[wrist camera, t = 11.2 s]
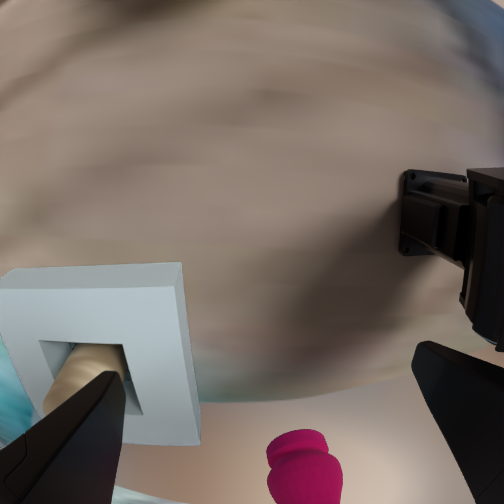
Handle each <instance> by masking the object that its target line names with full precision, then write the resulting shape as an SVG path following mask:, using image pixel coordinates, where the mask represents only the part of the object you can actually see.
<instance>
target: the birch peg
mask: <svg viewBox="0 0 504 504" xmlns="http://www.w3.org/2000/svg"><path fill="white" fill-rule="evenodd" d="M105 370H112V371H117V372H119V374H120V377H121V380H122V383H123V382H124V379H125V376H126V373H127V370H128V363H127V360H126V356H125V352H124V348H123V344H102V343H78V342H77V343H76V345H75V347H74V348H73V350H72V352H71V353H70V355H69V357H68V358H67V360H66V362H65V363H64V365H63V367H62V368H61V370H60V372H59V374H58V375H57V377H56V379H55V381H54V382H53V384H52V386H51V388H50V390H49V391H48V393H47V395H46V397H45V399H44V401H43V411H44V413H45V415H48V414H49V413H50V412H52V411H53V410H54V409H55V408H57V407H58V406H59V405H61V404H62V403H63V402H64V401H66V400H67V399H68V398H69V397H71V396H72V395H73V394H75V393H76V392H77V391H78V390H80V389H81V388H82V387H84V386H85V385H86V384H87V383H89V382H90V381H91V380H92V379H94V378H95V377H96V376H98V375H99V374H100V373H101V372H103V371H105Z"/></svg>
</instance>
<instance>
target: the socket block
mask: <svg viewBox="0 0 504 504" xmlns="http://www.w3.org/2000/svg"><path fill="white" fill-rule="evenodd" d="M0 334H1V336H2V339H3V342H4V344H5V347H6V349H7V351H8V354H9V356H10V359H11V361H12V363H13V365H14V368H15V370H16V372H17V374H18V376H19V379H20V381H21V383H22V385H23V387H24V389H25V391H26V393H27V395H28V397H29V399H30V400H31V402H32V404H33V406H34V408H35V410H36V411H37V413H38V415H39V417H40V418H41V419H43V418H44V417H45V416H46V415H45V413H44V411H43V401H44V399H45V397H46V395H47V393H48V391H49V390H50V388H51V386H52V384H53V382H54V381H55V379H56V377H57V375H58V374H59V372H60V370H61V368H62V367H63V365H64V363H65V362H66V360H67V358H68V357H69V355H70V353H71V352H72V350H71V347H70V344H69V342H78V343H102V344H123V348H124V352H125V356H126V360H127V363H128V367H129V370H130V374H131V377H132V381H124V382H123V386H124V389H125V392H126V406H125V415H124V426H123V438H122V443H130V444H131V443H132V444H145V445H168V446H200V445H201V443H200V442H201V410H200V404H199V398H198V392H197V386H196V379H195V373H194V366H193V359H192V352H191V345H190V337H189V329H188V321H187V313H186V304H185V295H184V285H183V275H182V264H181V262H165V263H142V264H118V265H94V266H68V267H42V268H14V269H12V270H11V271H9V272H8V273H6V274H5V275H4V276H2V277H1V278H0Z"/></svg>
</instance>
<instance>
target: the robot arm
mask: <svg viewBox="0 0 504 504" xmlns="http://www.w3.org/2000/svg"><path fill="white" fill-rule="evenodd" d="M411 174H413V177H412V179H411V177H410V175H411ZM467 178H468V181H469V183H467ZM467 178H466V177H465V176H463V175H457V174H449V173H441V172H433V171H424V170H414V169H408V170H407V171H406V172H405V180H404V197H403V202H402V215H401V226H400V231H401V233H400V242H399V253H400V254H402V255H403V256H417V255H432V254H436V255H438V256H440V257H442V258H444V259H446V260H447V261H449V262H451V263H453V264H455V265H456V266H458V267H460V268H462V269H464V278H463V286H462V292H460V297H459V301H460V303H461V304H462V306H463V307H464V309H465V313H466V315H467V316H468V318H469V319H470V321H471V322H472V323H473V325H472V329H473V330H474V331H475V333H477V334H478V335H480V336H481V337H482V338H484V339H485V340H486V341H488V342H490V343H491V344H493V345H496V347H495V350H496V351H497V352H504V168H475V169H467ZM461 180H462V182H461ZM405 247H406V250H405V251H404V248H405ZM411 367H412V371H413V373H414V376H415V378H416V380H417V382H418V385H419V387H420V390H421V392H422V394H423V396H424V399H425V401H426V403H427V406H428V407H429V409H430V411H431V413H432V415H433V417H434V419H435V421H436V423H437V424H438V426H439V428H440V430H441V432H442V434H443V436H444V438H445V440H446V442H447V444H448V446H449V447H450V450H451V451H452V453H453V455H454V457H455V460H456V461H457V463H458V466H459V468H460V470H461V472H462V474H463V476H464V478H465V480H466V482H467V484H468V487H469V488H470V491H471V493H472V495H473V498H474V499H475V503H476V504H504V368H502V367H500V366H497V365H494V364H491V363H489V362H486V361H483V360H481V359H478V358H475V357H472V356H470V355H467V354H464V353H462V352H459V351H456V350H454V349H451V348H448V347H446V346H443V345H440V344H438V343H435V342H432V341H424V342H420V343H418V345H417V347H416V350H415V353H414V357H413V360H412V364H411ZM125 406H126V392H125V389H124V386H123V383H122V380H121V377H120V374H119V372H117V371H112V370H105V371H103V372H101V373H100V374H99V375H98V376H96V377H95V378H94V379H92V380H91V381H90V382H89V383H87V384H86V385H85V386H84V387H82V388H81V389H80V390H78V391H77V392H76V393H75V394H73V395H72V396H71V397H69V398H68V399H67V400H66V401H64V402H63V403H62V404H61V405H59V406H58V407H57V408H55V409H54V410H53V411H52V412H50V413H49V414H48V415H46V416H45V417H44V418H43V419H41V420H40V421H39V422H38V423H36V424H35V425H34V426H32V427H31V428H30V429H29V430H27V431H26V432H25V434H24V433H23V434H22V435H21V436H19V437H18V438H17V439H16V440H14V441H13V442H12V443H10V444H9V445H7V446H6V447H5V448H3V449H2V450H0V504H111V501H112V495H113V489H114V483H115V478H116V472H117V467H118V461H119V456H120V451H121V446H122V438H123V426H124V415H125Z"/></svg>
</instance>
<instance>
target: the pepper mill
mask: <svg viewBox="0 0 504 504" xmlns="http://www.w3.org/2000/svg"><path fill="white" fill-rule="evenodd" d="M328 451H329V449H328V446H327V443H326V441H325V438H324V436H323V435H322V434H321V433H320V432H318V431H315V430H311V429H301V430H294V431H290V432H287V433H284V434H282V435H280V436H279V437H277V438H275V439H274V440H273V441H272V442H271V443H270V444H269V446H268V447H267V450H266V453H267V459H268V464H269V466H270V468H272V469H271V471H270V473H269V475H268V478H267V485H268V488H269V491H270V494H271V495H272V497H273V498H274V501H275V502H276V503H277V504H340V498H341V491H342V485H343V474H342V469H341V466H340V463H339V461H338V460H337V459H336V458H335V457H334V456H332V455H330V454H328Z"/></svg>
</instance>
